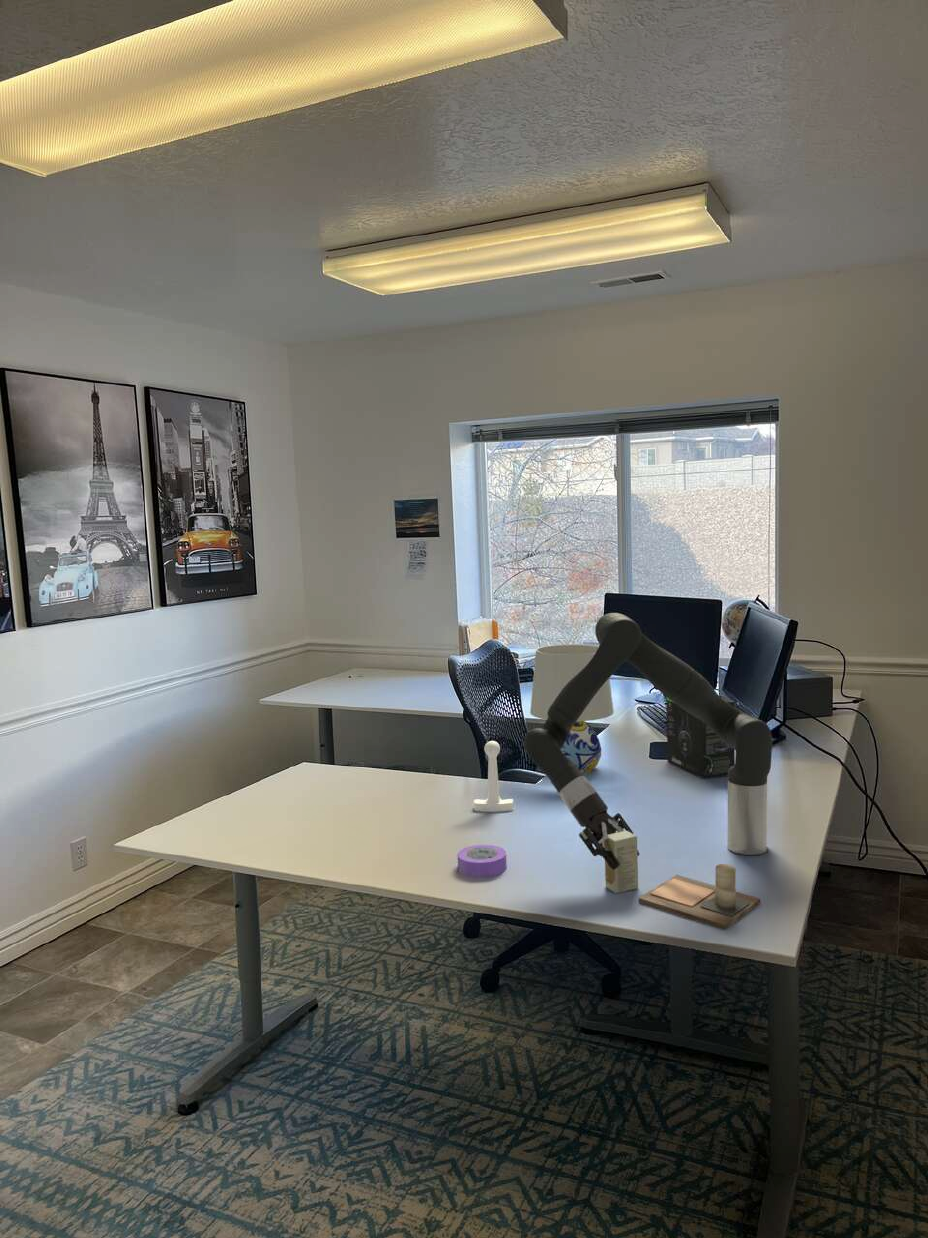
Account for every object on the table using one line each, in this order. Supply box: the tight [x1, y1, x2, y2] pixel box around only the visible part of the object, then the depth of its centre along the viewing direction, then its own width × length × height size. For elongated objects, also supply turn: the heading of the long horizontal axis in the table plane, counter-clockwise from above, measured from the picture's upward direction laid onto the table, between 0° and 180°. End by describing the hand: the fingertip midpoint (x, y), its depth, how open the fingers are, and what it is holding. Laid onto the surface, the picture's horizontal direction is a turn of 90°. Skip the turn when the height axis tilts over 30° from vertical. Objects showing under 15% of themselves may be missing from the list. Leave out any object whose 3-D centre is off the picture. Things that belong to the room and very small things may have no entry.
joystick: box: [473, 740, 514, 813], centre depth 254 cm, size 11×8×20 cm
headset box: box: [666, 696, 736, 779], centre depth 287 cm, size 22×12×26 cm, turn 17°
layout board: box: [638, 863, 762, 931], centre depth 189 cm, size 16×20×9 cm
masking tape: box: [457, 844, 508, 878], centre depth 212 cm, size 12×12×4 cm
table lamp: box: [529, 643, 615, 776], centre depth 289 cm, size 27×27×40 cm
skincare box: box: [604, 830, 639, 894], centre depth 197 cm, size 6×4×12 cm
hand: (626, 862), depth 196 cm, fingers closed on skincare box, 7 cm apart
